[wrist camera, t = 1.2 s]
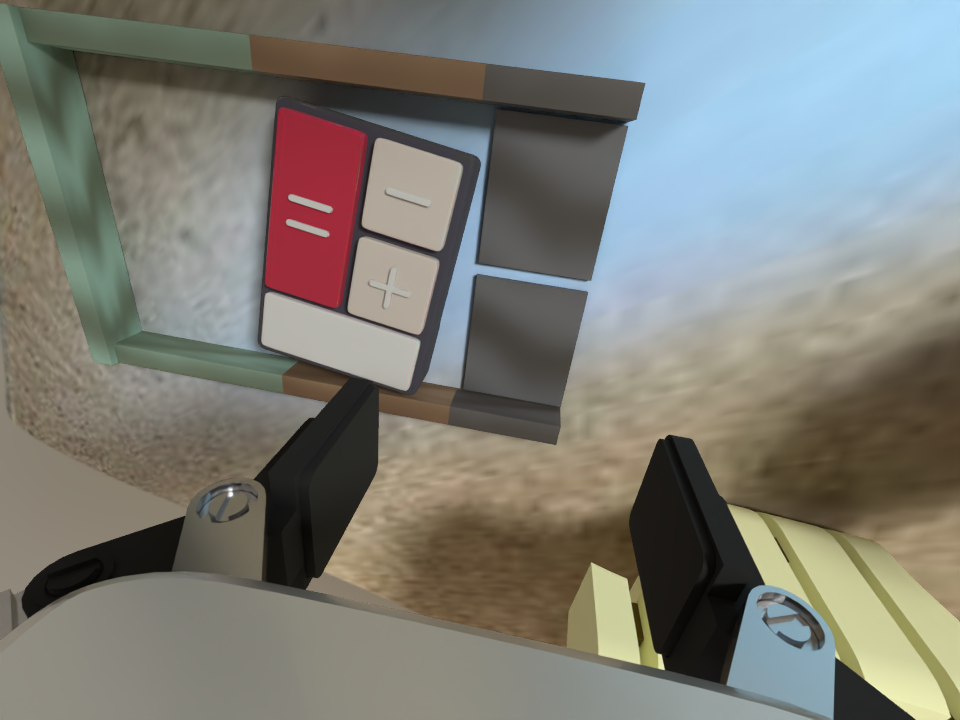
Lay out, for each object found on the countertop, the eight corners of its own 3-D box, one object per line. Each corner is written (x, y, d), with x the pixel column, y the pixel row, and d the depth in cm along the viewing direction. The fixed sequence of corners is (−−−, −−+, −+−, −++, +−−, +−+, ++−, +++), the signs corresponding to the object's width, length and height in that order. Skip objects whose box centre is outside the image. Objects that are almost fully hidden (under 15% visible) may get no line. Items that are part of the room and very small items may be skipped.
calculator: (474, 156, 22) (411, 403, 28) (485, 158, 26) (427, 375, 32) (266, 90, 22) (249, 351, 28) (308, 102, 26) (284, 329, 32)
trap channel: (41, 16, 25) (-20, 0, 23) (636, 89, 23) (647, 81, 20) (128, 345, 35) (93, 361, 32) (555, 424, 32) (556, 449, 29)
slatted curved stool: (995, 549, 31) (1448, 962, 15) (864, 672, 39) (1080, 1039, 23) (580, 445, 33) (606, 728, 17) (528, 583, 40) (512, 871, 24)
